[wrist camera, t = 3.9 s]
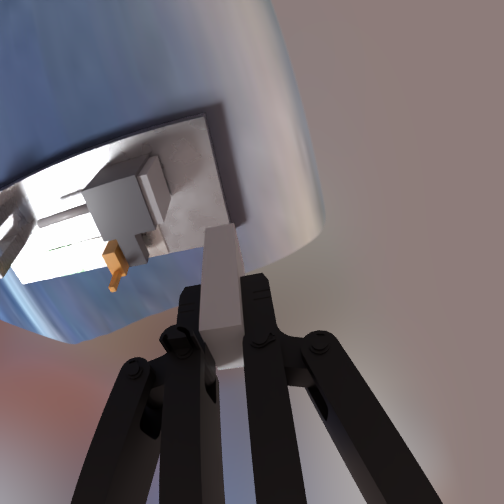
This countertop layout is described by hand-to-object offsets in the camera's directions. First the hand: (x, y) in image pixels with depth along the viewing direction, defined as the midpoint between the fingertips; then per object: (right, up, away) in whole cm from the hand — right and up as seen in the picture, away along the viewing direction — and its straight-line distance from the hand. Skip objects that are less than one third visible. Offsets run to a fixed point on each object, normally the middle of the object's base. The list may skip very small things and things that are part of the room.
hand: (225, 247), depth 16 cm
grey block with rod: (-13, +3, +12) cm, 18 cm away
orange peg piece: (-12, 0, +14) cm, 19 cm away
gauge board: (-16, +4, +13) cm, 22 cm away
